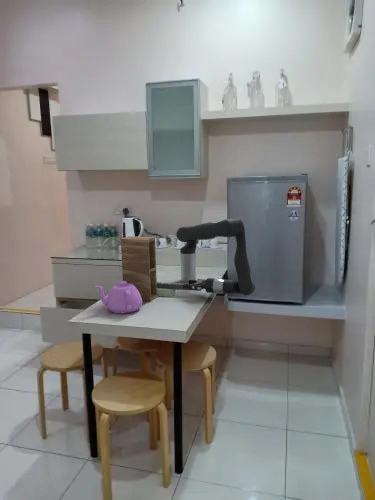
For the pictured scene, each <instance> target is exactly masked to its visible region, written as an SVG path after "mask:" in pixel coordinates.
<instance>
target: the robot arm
mask: <svg viewBox="0 0 375 500" xmlns="http://www.w3.org/2000/svg"><path fill="white" fill-rule="evenodd" d="M175 235H176V238H177V240H178V241H179V242H180V243H186V244H184V245H183V246H182V247H181V248H179V249H180V254H179V255H180V258H179V259H180V281H181V282H183V283H182V284H183V288H187V289H190V290H189V291H197V292H201V291H202V290H205V292H206V293H209V294H229V295H230V294H231V295H232V294H237V295H238V294H239V295H244V296H249V295H252V294H254V292H255V291H256V285H255V283H254V282H253V281H252V278H251V273H252V272H251V267H250V263H249V259H248V254H247V243H246V242H247V241H246V228H245V225H244V222H243V220H242V219H241V218H238V217H237V218H227V219H226V218H225V219H223V220H221V221H217V222H204V223H200V224H196V225H194V226H193V225H188V226H181V227H179V228H178V229H177V230H176V234H175ZM218 237H220V238H221V237H222V238H233V237H234V238H235V241H236V249H235V253H234V257H233V259H234V260H233V262H234V267H235V272H236V275H237V280H233V279H223V278H213V277H207V278H206V279H204V278H202V279H201V278H198V279H197V268H196V267H197V266H196V265H197V263H196V261H197V260H196V259H197V258H196V257H197V256H196V250H197V242H198V241H204V240H205V241H207V240H212V239H215V238H218Z"/></svg>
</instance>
